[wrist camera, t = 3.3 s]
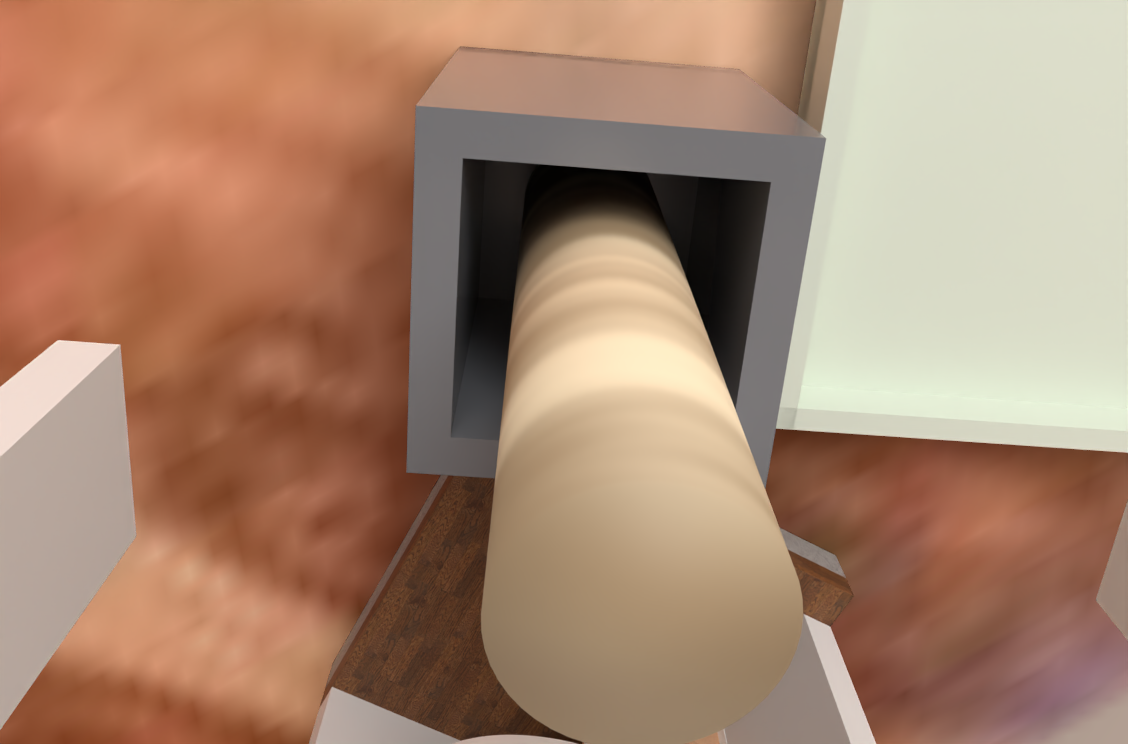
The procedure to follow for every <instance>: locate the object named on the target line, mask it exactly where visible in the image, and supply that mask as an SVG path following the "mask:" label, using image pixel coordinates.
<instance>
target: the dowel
mask: <svg viewBox="0 0 1128 744" xmlns="http://www.w3.org/2000/svg"><path fill="white" fill-rule="evenodd" d="M802 622H803V598H802V593H801V588H800V583H799V579H798V576H797V574H796V571H795V568H794V566H793V563H792V560H791V557H790V555H789V552H788V549H787V547H786V544H785V541H784V539H783V536H782V533H781V531H780V528H779V525H778V523H777V520H776V517H775V515H774V512H773V509H772V507H771V504H770V501H769V498H768V496H767V493H766V490H765V488H764V485H763V482H762V480H761V477H760V474H759V472H758V469H757V466H756V464H755V461H754V458H753V456H752V453H751V450H750V448H749V445H748V442H747V439H746V437H745V434H744V431H743V429H742V426H741V423H740V421H739V418H738V415H737V413H736V410H735V407H734V405H733V402H732V399H731V397H730V394H729V391H728V389H727V386H726V383H725V380H724V378H723V375H722V372H721V370H720V367H719V364H718V362H717V359H716V356H715V354H714V351H713V348H712V346H711V343H710V340H709V338H708V335H707V332H706V330H705V327H704V324H703V321H702V319H701V316H700V313H699V311H698V308H697V305H696V303H695V300H694V297H693V295H692V292H691V289H690V287H689V284H688V281H687V279H686V276H685V273H684V271H683V268H682V265H681V262H680V260H679V257H678V254H677V252H676V249H675V246H674V244H673V241H672V238H671V236H670V233H669V230H668V228H667V225H666V222H665V220H664V217H663V214H662V212H661V209H660V206H659V203H658V201H657V198H656V195H655V193H654V190H653V187H652V185H651V182H650V179H649V177H648V175H647V173H646V172H634V171H622V170H609V169H596V168H583V167H570V166H557V165H544V164H539V165H538V166H537V167H536V169H535V170H534V172H533V174H532V175H531V177H530V180H529V182H528V185H527V189H526V192H525V200H524V209H523V219H522V228H521V238H520V247H519V257H518V266H517V276H516V285H515V295H514V304H513V314H512V324H511V333H510V343H509V352H508V362H507V371H506V381H505V390H504V400H503V409H502V419H501V428H500V438H499V447H498V457H497V467H496V476H495V486H494V495H493V505H492V514H491V524H490V533H489V543H488V552H487V562H486V571H485V581H484V590H483V600H482V610H481V632H482V638H483V643H484V649H485V652H486V654H487V657H488V660H489V663H490V666H491V668H492V670H493V671H494V673H495V675H496V677H497V679H498V681H499V682H500V684H501V685H502V686H503V688H504V689H505V691H506V692H507V693H508V695H509V696H510V697H511V698H512V699H513V700H514V701H515V702H516V703H517V704H518V705H519V706H520V707H521V708H522V709H523V710H524V711H526V712H527V713H528V714H529V715H531V716H532V717H533V718H534V719H536V720H537V721H539V722H541V723H542V724H544V725H545V726H547V727H549V728H550V729H552V730H554V731H556V732H559V733H561V734H563V735H565V736H567V737H570V738H573V739H576V740H579V741H582V742H585V743H588V744H686V743H689V742H692V741H695V740H698V739H702V738H704V737H707V736H709V735H711V734H714V733H716V732H718V731H721V730H723V729H724V728H726V727H728V726H730V725H731V724H733V723H735V722H737V721H738V720H740V719H741V718H742V717H744V716H745V715H747V714H748V713H749V712H751V711H752V710H753V709H755V708H756V707H757V706H758V705H759V704H760V703H761V702H762V701H763V700H764V699H765V698H766V697H767V696H768V695H769V694H770V693H771V692H772V690H773V689H774V688H775V687H776V686H777V684H778V683H779V682H780V680H781V679H782V677H783V676H784V674H785V672H786V671H787V669H788V668H789V666H790V663H791V661H792V659H793V657H794V655H795V652H796V650H797V646H798V643H799V639H800V636H801V630H802Z"/></svg>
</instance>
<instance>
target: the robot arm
mask: <svg viewBox="0 0 1128 744" xmlns="http://www.w3.org/2000/svg"><path fill="white" fill-rule="evenodd" d="M135 537H136V526H135V514H134V502H133V490H132V478H131V466H130V454H129V443H128V431H127V419H126V407H125V395H124V383H123V372H122V360H121V348H120V345H117V344H103V343H90V342H76V341H62V340H57V341H56V342H55V343H54V344H53V345H51V346H50V347H49V348H48V349H46V350H45V351H44V352H43V353H41V354H40V355H39V356H38V357H37V358H35V359H34V360H33V361H32V362H30V363H29V364H28V365H27V366H25V367H24V368H23V369H22V370H21V371H19V372H18V373H17V374H16V375H14V376H13V377H12V378H11V379H9V380H8V381H7V382H6V383H5V384H3V385H2V386H1V387H0V729H1V728H2V727H3V725H4V724H5V722H6V721H7V720H8V718H9V717H10V715H11V714H12V712H13V711H14V710H15V708H16V707H17V705H18V704H19V702H20V701H21V700H22V698H23V697H24V695H25V694H26V692H27V691H28V690H29V688H30V687H31V685H32V684H33V683H34V681H35V680H36V678H37V677H38V675H39V674H40V673H41V671H42V670H43V668H44V667H45V665H46V664H47V663H48V661H49V660H50V658H51V657H52V655H53V654H54V653H55V651H56V650H57V648H58V647H59V646H60V644H61V643H62V641H63V640H64V638H65V637H66V636H67V634H68V633H69V631H70V630H71V628H72V627H73V626H74V624H75V623H76V621H77V620H78V618H79V617H80V616H81V614H82V613H83V611H84V610H85V609H86V607H87V606H88V604H89V603H90V601H91V600H92V599H93V597H94V596H95V594H96V593H97V591H98V590H99V589H100V587H101V586H102V584H103V583H104V581H105V580H106V579H107V577H108V576H109V574H110V573H111V572H112V570H113V569H114V567H115V566H116V564H117V563H118V562H119V560H120V559H121V557H122V556H123V554H124V553H125V552H126V550H127V549H128V547H129V546H130V544H131V543H132V542H133V540H134V539H135ZM1096 601H1097V602H1098V604H1099V605H1100V606H1101V607H1102V609H1103V610H1104V611H1105V612H1106V614H1107V615H1108V616H1109V617H1110V619H1111V620H1112V621H1113V622H1114V624H1115V625H1116V626H1117V627H1118V629H1119V630H1120V631H1121V632H1122V634H1123V635H1124V636H1125V637H1126V639H1127V640H1128V501H1127V504H1126V507H1125V510H1124V514H1123V517H1122V520H1121V523H1120V526H1119V529H1118V532H1117V535H1116V538H1115V542H1114V545H1113V548H1112V551H1111V554H1110V557H1109V560H1108V563H1107V567H1106V570H1105V573H1104V576H1103V579H1102V582H1101V585H1100V588H1099V592H1098V595H1097V598H1096Z"/></svg>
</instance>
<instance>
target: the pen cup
mask: <svg viewBox="0 0 1128 744" xmlns="http://www.w3.org/2000/svg"><path fill="white" fill-rule="evenodd" d="M825 143H826V138H825V137H824V136H823V135H822V134H820V133H819V132H818V131H817V130H815V129H814V128H813V127H812V126H810V125H809V124H808V123H806V122H805V121H804V120H803V119H801V118H800V117H799V116H798V115H796V114H795V113H794V112H793V111H791V110H790V109H789V108H788V107H786V106H785V105H784V104H782V103H781V102H780V101H779V100H777V99H776V98H775V97H774V96H772V95H771V94H770V93H769V92H767V91H766V90H765V89H764V88H762V87H761V86H760V85H759V84H757V83H756V82H755V81H753V80H752V79H751V78H750V77H748V76H747V75H746V74H745V73H743V72H742V71H741V70H740V69H730V68H717V67H705V66H693V65H681V64H669V63H656V62H644V61H632V60H620V59H607V58H595V57H583V56H571V55H558V54H546V53H534V52H522V51H509V50H497V49H485V48H473V47H459V49H458V50H457V51H456V53H455V54H454V55H453V57H452V58H451V59H450V61H449V62H448V63H447V65H446V66H445V67H444V69H443V70H442V71H441V73H440V74H439V75H438V77H437V78H436V79H435V81H434V82H433V83H432V85H431V86H430V87H429V89H428V90H427V91H426V93H425V94H424V95H423V97H422V98H421V99H420V101H419V102H418V103H417V105H416V119H415V158H414V197H413V237H412V276H411V315H410V355H409V394H408V433H407V473H421V474H436V475H452V476H467V477H482V478H495V476H496V467H497V457H498V447H499V438H500V428H501V419H502V409H503V400H504V390H505V381H506V371H507V362H508V352H509V343H510V333H511V324H512V314H513V304H514V295H515V285H516V276H517V266H518V257H519V247H520V238H521V228H522V219H523V209H524V200H525V192H526V189H527V185H528V182H529V180H530V177H531V175H532V174H533V172H534V170H535V169H536V167H537V166H538V165H539V164H544V165H557V166H570V167H583V168H596V169H609V170H622V171H634V172H646V173H647V175H648V177H649V179H650V182H651V185H652V187H653V190H654V193H655V195H656V198H657V201H658V203H659V206H660V209H661V212H662V214H663V217H664V220H665V222H666V225H667V228H668V230H669V233H670V236H671V238H672V241H673V244H674V246H675V249H676V252H677V254H678V257H679V260H680V262H681V265H682V268H683V271H684V273H685V276H686V279H687V281H688V284H689V287H690V289H691V292H692V295H693V297H694V300H695V303H696V305H697V308H698V311H699V313H700V316H701V319H702V321H703V324H704V327H705V330H706V332H707V335H708V338H709V340H710V343H711V346H712V348H713V351H714V354H715V356H716V359H717V362H718V364H719V367H720V370H721V372H722V375H723V378H724V380H725V383H726V386H727V389H728V391H729V394H730V397H731V399H732V402H733V405H734V407H735V410H736V413H737V415H738V418H739V421H740V423H741V426H742V429H743V431H744V434H745V437H746V439H747V442H748V445H749V448H750V450H751V453H752V456H753V458H754V461H755V464H756V466H757V469H758V472H759V474H760V477H761V480H762V482H763V485H764V488H766V482H767V476H768V470H769V465H770V459H771V453H772V447H773V442H774V436H775V430H776V425H777V419H778V413H779V407H780V402H781V396H782V390H783V384H784V379H785V373H786V367H787V361H788V356H789V350H790V344H791V338H792V333H793V327H794V321H795V315H796V310H797V304H798V298H799V292H800V287H801V281H802V275H803V269H804V264H805V258H806V252H807V246H808V241H809V235H810V229H811V223H812V218H813V212H814V206H815V200H816V195H817V189H818V183H819V177H820V172H821V166H822V160H823V154H824V149H825Z"/></svg>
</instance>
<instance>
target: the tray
mask: <svg viewBox="0 0 1128 744" xmlns="http://www.w3.org/2000/svg"><path fill="white" fill-rule="evenodd" d="M798 116H799V117H800V118H801V119H803V120H804V121H805V122H806V123H808V124H809V125H810V126H812V127H813V128H814V129H815V130H817V131H818V132H819V133H820V134H822V135H823V136H824V137H825V138H826V143H825V149H824V154H823V160H822V166H821V172H820V177H819V183H818V189H817V195H816V200H815V206H814V212H813V218H812V223H811V229H810V235H809V241H808V246H807V252H806V258H805V264H804V269H803V275H802V281H801V287H800V292H799V298H798V304H797V310H796V315H795V321H794V327H793V333H792V338H791V344H790V350H789V356H788V361H787V367H786V373H785V379H784V384H783V390H782V396H781V402H780V407H779V413H778V419H777V425H776V429H790V430H805V431H819V432H834V433H849V434H863V435H878V436H892V437H907V438H922V439H936V440H951V441H965V442H980V443H995V444H1009V445H1024V446H1039V447H1053V448H1068V449H1082V450H1097V451H1112V452H1126V453H1128V0H816V5H815V11H814V17H813V23H812V29H811V35H810V42H809V48H808V54H807V60H806V66H805V72H804V79H803V85H802V91H801V97H800V103H799V109H798Z"/></svg>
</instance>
